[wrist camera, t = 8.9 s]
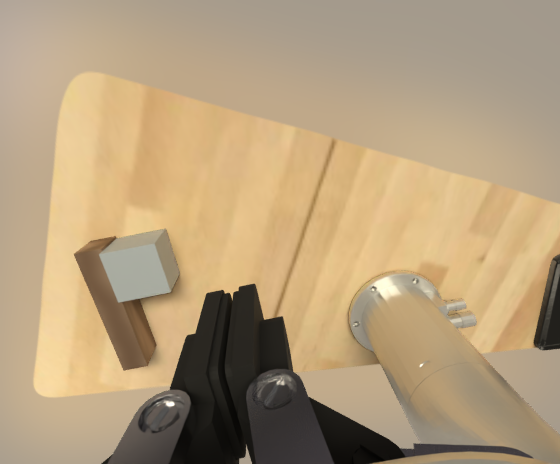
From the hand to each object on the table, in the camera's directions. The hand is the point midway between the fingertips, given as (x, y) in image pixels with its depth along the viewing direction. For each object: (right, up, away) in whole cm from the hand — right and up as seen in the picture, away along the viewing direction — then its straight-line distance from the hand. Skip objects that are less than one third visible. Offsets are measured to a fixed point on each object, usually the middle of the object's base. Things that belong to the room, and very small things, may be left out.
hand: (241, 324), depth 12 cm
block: (-15, 0, +30) cm, 33 cm away
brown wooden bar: (-18, -5, +31) cm, 37 cm away
